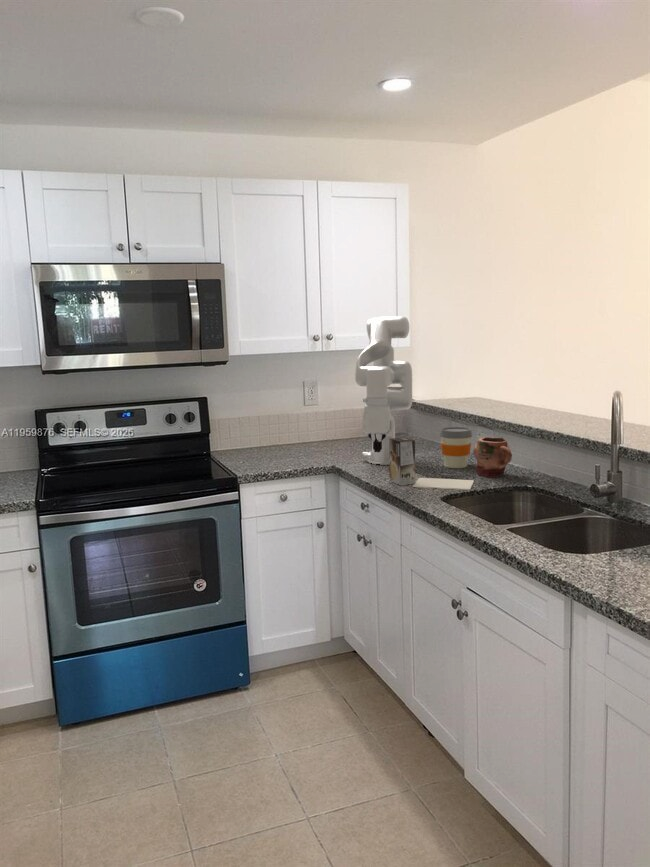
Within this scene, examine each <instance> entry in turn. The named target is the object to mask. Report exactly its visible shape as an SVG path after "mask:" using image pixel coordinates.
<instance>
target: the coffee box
mask: <svg viewBox="0 0 650 867" xmlns="http://www.w3.org/2000/svg"><path fill="white" fill-rule="evenodd" d="M388 466H389V482H391V481H392V483H393V482H394V484H396V485H398V484H399V486H401V485H402V486H407V484H410V485H414V484H415V483H416V440H414V439H411V438H408V437H403V436H402V437H395V438H391V439H389V465H388Z"/></svg>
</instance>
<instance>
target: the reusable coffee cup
mask: <svg viewBox="0 0 650 867" xmlns="http://www.w3.org/2000/svg"><path fill="white" fill-rule="evenodd" d="M439 437H440V438H441V442H440V447H441V449H440V450H441V454H442V456H443V465H444V467H445V468H449V469H463V468H466V467H468V462H469V455H470V454H471V448H472V443H471V438H472V437H473V432H472V429H471V428H469V427H463V426H462V427H461V426H449V427H443V428H441V429H440V433H439Z"/></svg>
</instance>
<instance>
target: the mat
mask: <svg viewBox="0 0 650 867" xmlns="http://www.w3.org/2000/svg"><path fill="white" fill-rule="evenodd" d="M474 483H475V480H474V479H458V478H457V479H454V478H435V477H433V478H432V477H419V478H418V479H417V480H415V484H412V488H413V487H424V488H423V489H433V488H437V490H453V489H454V490H457V491H471V490H472V489H471V488H472V487H473V485H474Z"/></svg>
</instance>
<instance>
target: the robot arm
mask: <svg viewBox="0 0 650 867" xmlns="http://www.w3.org/2000/svg"><path fill="white" fill-rule="evenodd" d="M366 332H367V336H368V340H369V345H368V346H367V347H366V348H365V349H363V350H362V352H361V353H360V354H359V355H358V357H357V359H356V364H355V374H354V376H355V378H354V379H355V382H356V384H357V385H358V386H359V387H366V397H365V398H362V403H365V404H366V405H364V408H363V411H362V412H363V414H362V428H361V429H362V435H363V436H365V437H369V439H370V440H371V451H369V452H367V451H363V452H362V457H364V458H369V459H368V463H369V464H371V463H372V464H371V465H376V464H380V465H379V466H389V439H391V438H396V421H395V418H394V416H393V415H392V414H391V411H406V410H409V409H411V407H412V405H413V368H412V365H411V363H410V362H409V361H407V360H395V349H394V347H393V345H392V339H406V338H407V337H408V336H409V333H410V322H409V319H408V318H407V317H405V316H380V317H373V318H370V319H368V320H367V322H366ZM371 363H372V364H373V365H369V364H371ZM391 385H400V386H391Z"/></svg>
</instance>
